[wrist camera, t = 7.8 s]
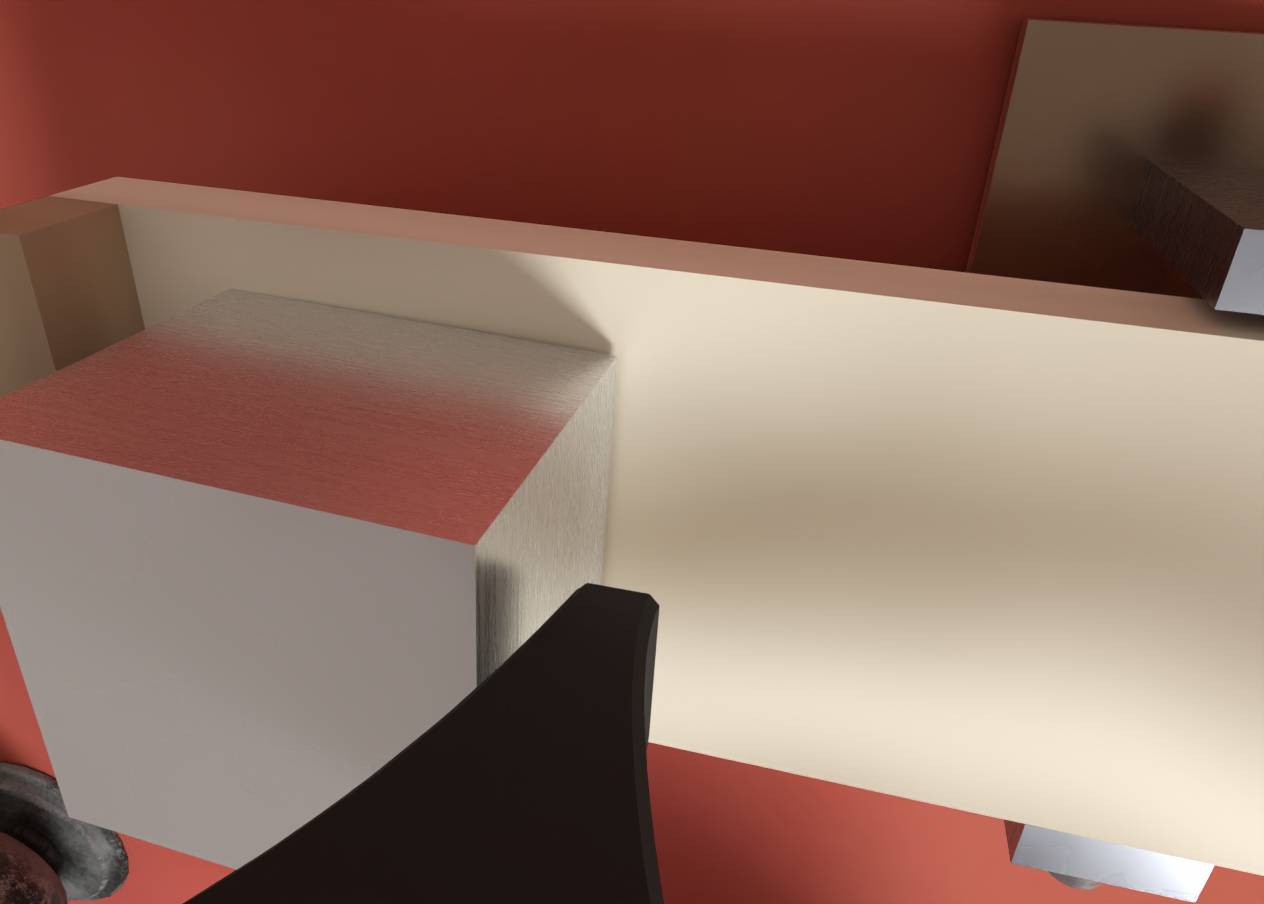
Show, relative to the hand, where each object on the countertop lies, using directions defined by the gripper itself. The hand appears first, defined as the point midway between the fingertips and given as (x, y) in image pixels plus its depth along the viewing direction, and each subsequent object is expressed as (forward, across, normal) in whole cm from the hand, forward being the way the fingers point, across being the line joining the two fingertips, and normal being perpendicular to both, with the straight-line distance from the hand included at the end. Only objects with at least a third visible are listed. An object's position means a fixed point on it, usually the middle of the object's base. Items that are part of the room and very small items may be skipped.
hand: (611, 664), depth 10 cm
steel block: (+2, +3, 0) cm, 4 cm away
